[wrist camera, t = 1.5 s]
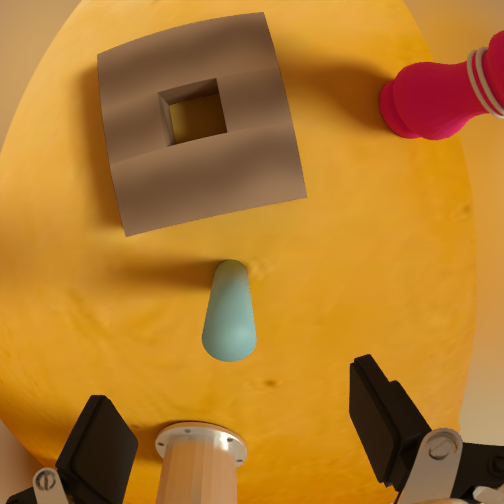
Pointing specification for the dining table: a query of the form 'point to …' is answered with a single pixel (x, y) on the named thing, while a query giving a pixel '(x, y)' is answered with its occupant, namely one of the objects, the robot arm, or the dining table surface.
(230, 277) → the teal peg
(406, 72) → the pepper mill
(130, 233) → the walnut hole block
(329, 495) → the dining table surface
